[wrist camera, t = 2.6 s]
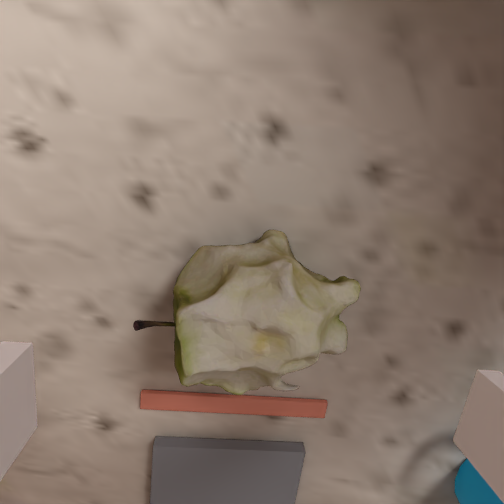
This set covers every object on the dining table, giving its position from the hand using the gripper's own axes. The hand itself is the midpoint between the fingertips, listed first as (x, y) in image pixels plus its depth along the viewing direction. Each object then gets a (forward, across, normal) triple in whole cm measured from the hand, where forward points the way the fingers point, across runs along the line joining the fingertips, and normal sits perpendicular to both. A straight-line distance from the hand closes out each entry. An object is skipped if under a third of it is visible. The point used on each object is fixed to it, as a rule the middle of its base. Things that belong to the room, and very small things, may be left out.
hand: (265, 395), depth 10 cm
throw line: (+10, 0, -9) cm, 13 cm away
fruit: (+10, 0, -1) cm, 10 cm away
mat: (+10, 0, -18) cm, 20 cm away
